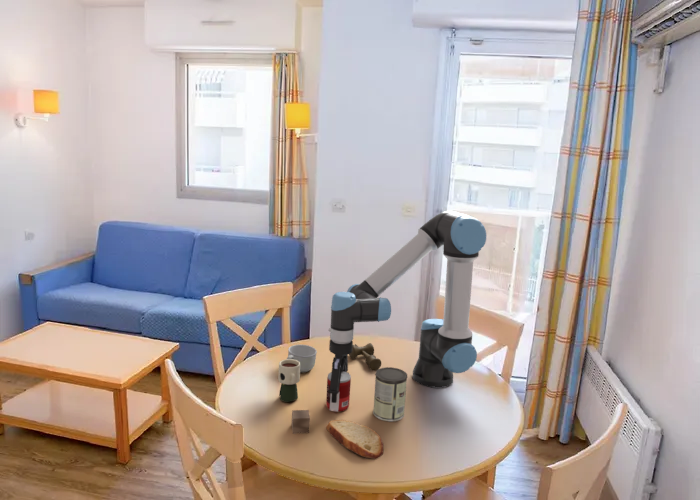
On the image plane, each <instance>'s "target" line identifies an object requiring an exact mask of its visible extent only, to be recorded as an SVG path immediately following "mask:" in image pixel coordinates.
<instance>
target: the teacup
mask: <svg viewBox="0 0 700 500" xmlns="http://www.w3.org/2000/svg"><path fill="white" fill-rule="evenodd" d="M287 349H288V352H287V353H288V354H287V357H286V359H293V360H297V361H299V362H300V373H306V372H309V371H310V370H312V369H314V367H315V364H316V359H317V353H318V352H317V349H316V348H315V347H313V346H310V345H308V344H294V345H290V346H289V347H288V348H287Z"/></svg>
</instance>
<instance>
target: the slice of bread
mask: <svg viewBox="0 0 700 500" xmlns="http://www.w3.org/2000/svg"><path fill="white" fill-rule="evenodd" d="M325 428H326V430H327V432H328V434H329V435H330V436H332V437H333V438H334V439H335V440H336V441H337V442H338V443H339V444H341V445H342V446H343V447H344V448H346V449H347V450H349V451H351V452H352V453H354V454H356V455H359V456H360V457H362V458H366V459H368V460H371V459H373V460H378V459H379V458H380V457H381V456H383V454H384V442H383V440H382V437H381V436H380V435H379V434H378V433H377V431H375V430H374V429H372V428H370V427H369V426H366V425H361V424H359V423H358V422H354V421H350V420H345V419H334V420H330V421H328V423H327V424H326V427H325Z"/></svg>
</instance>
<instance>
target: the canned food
mask: <svg viewBox="0 0 700 500" xmlns="http://www.w3.org/2000/svg"><path fill="white" fill-rule="evenodd" d="M347 372H348V371H347ZM347 372H344V371H343V372H342V373H341V379H340V386H339V408H338V413H339V412H344V411H346V410H347V409H349V406H350V398H351V397H350V396H351V385H352V384H351V382H352V379H351V378H352V376H351V374H350V372H348V373H347ZM331 374H332V371H330V372H329V373H328V374H327V377H326V378H327V380H326V399H325V403H326V404H325V406H326V407H327V409H328V410H329V411H331V410H330V395H331V393H329V392H328V390H330V382H331ZM334 412H336V413H337V411H334Z"/></svg>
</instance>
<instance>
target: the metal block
mask: <svg viewBox="0 0 700 500" xmlns="http://www.w3.org/2000/svg"><path fill="white" fill-rule="evenodd" d="M310 417H311V416H310V411H309V409H293V410H291V431H292V434H310V429H311V428H310V424H311V423H310V422H311V418H310Z"/></svg>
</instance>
